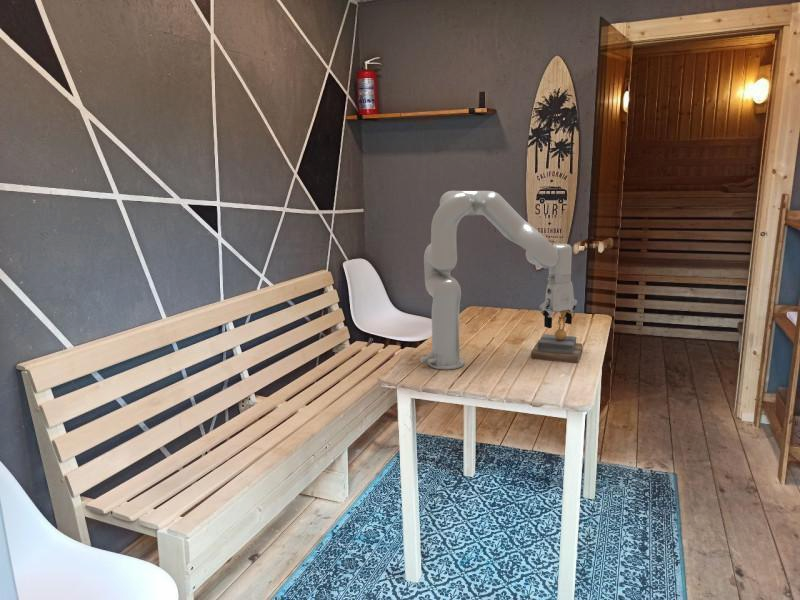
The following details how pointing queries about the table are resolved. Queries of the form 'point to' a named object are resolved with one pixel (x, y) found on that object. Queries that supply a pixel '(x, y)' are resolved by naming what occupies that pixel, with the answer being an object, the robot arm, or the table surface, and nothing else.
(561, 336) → the figurine
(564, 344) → the display stand
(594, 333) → the table surface
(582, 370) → the table surface
